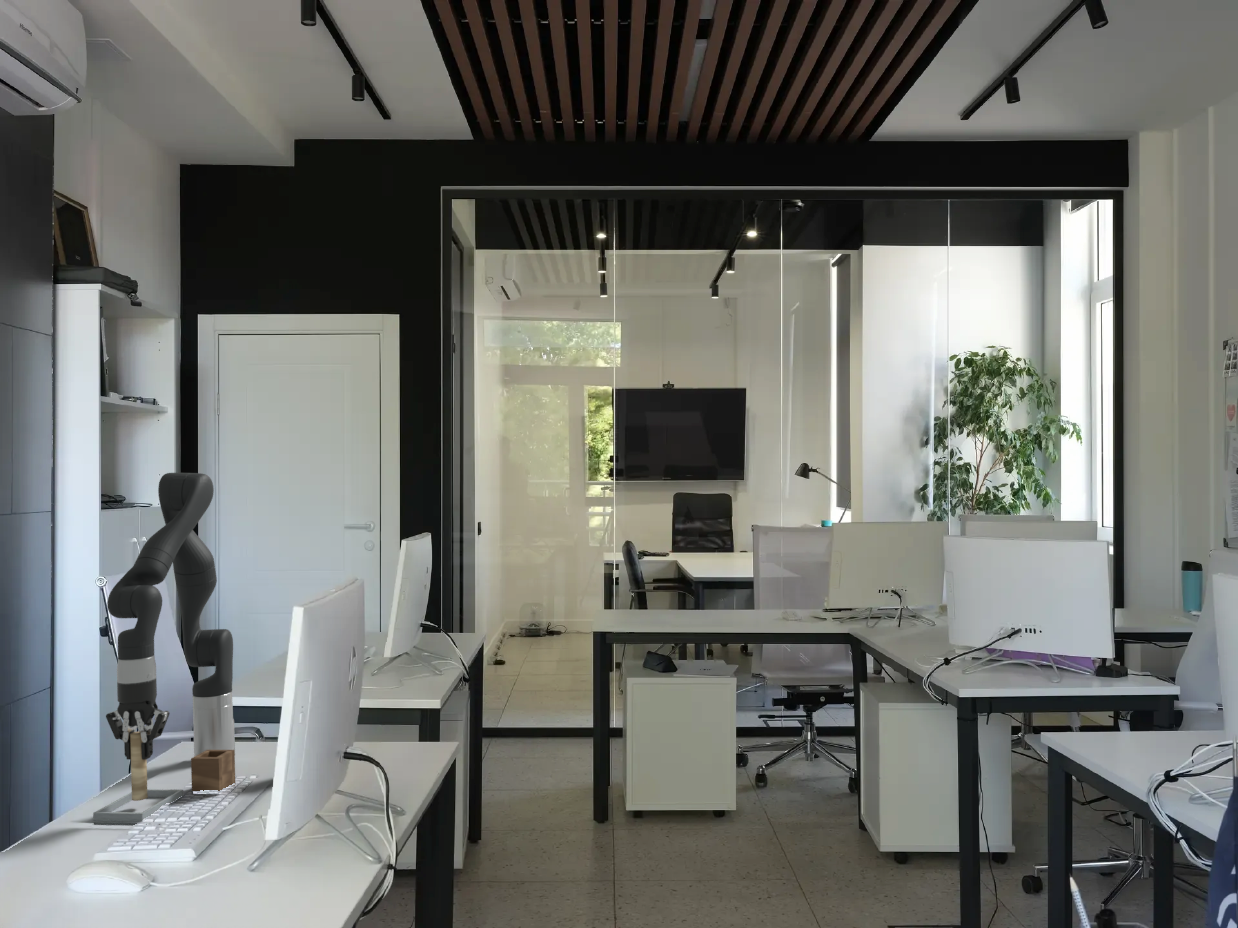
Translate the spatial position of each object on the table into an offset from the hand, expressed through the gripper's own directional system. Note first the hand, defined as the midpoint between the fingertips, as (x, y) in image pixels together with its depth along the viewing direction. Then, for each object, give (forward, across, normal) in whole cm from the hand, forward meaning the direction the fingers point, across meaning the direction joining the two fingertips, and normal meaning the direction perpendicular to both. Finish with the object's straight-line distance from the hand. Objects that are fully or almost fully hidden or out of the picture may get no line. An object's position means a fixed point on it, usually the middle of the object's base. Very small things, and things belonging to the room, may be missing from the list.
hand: (138, 757), depth 199 cm
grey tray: (+12, 0, 0) cm, 12 cm away
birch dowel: (+9, 0, 0) cm, 9 cm away
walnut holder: (+12, -10, -12) cm, 19 cm away
